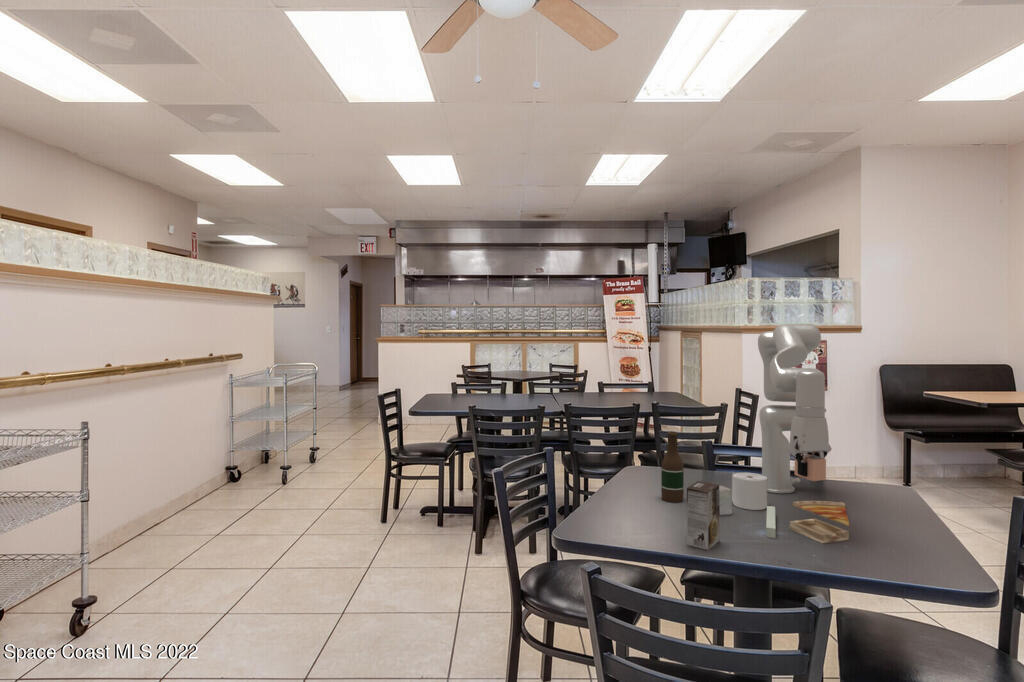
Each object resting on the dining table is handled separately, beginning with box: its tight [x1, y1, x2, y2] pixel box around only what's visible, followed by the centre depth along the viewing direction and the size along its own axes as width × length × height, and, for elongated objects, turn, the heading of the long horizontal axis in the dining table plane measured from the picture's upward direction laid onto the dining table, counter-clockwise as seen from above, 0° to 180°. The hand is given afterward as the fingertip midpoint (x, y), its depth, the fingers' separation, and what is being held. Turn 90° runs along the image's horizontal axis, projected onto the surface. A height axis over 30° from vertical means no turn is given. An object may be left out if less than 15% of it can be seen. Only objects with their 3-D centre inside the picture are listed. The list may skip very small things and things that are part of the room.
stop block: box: [794, 453, 827, 482], centre depth 162 cm, size 4×7×7 cm, turn 15°
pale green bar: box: [765, 505, 777, 539], centre depth 169 cm, size 22×2×3 cm, turn 155°
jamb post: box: [719, 485, 733, 516], centre depth 181 cm, size 5×5×8 cm
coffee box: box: [686, 480, 721, 551], centre depth 155 cm, size 9×6×16 cm
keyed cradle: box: [789, 518, 850, 544], centre depth 161 cm, size 9×12×2 cm
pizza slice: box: [792, 500, 851, 528], centre depth 181 cm, size 16×22×2 cm
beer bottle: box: [660, 430, 685, 503], centre depth 196 cm, size 8×8×24 cm
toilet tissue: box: [731, 470, 768, 511], centre depth 189 cm, size 11×12×10 cm
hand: (809, 474), depth 162 cm, fingers closed on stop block, 4 cm apart
